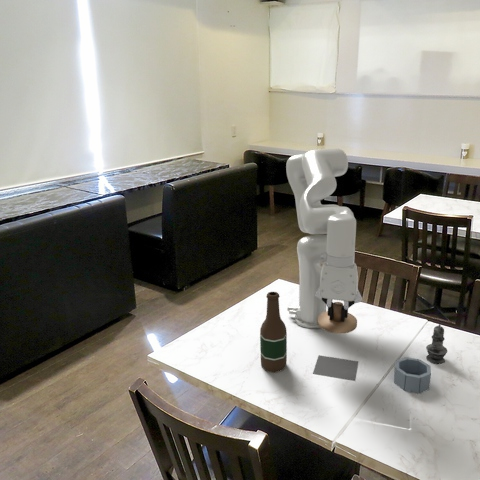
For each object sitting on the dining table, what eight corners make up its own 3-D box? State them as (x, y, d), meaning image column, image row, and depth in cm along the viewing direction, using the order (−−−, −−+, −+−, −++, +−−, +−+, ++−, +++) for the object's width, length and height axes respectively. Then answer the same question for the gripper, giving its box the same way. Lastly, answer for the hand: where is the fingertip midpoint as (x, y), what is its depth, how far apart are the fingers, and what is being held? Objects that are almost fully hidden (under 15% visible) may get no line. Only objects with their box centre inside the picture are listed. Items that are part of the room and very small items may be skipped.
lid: (314, 330, 128) (315, 310, 126) (321, 311, 138) (321, 293, 136) (354, 336, 124) (356, 315, 122) (358, 316, 134) (359, 297, 132)
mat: (312, 374, 133) (312, 373, 133) (318, 356, 142) (318, 355, 142) (354, 381, 129) (355, 380, 129) (358, 362, 138) (358, 361, 138)
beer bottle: (272, 355, 143) (271, 285, 135) (292, 365, 137) (292, 292, 130) (255, 366, 138) (253, 293, 130) (274, 376, 132) (274, 302, 125)
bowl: (393, 389, 125) (395, 373, 123) (394, 370, 133) (395, 355, 132) (429, 395, 122) (431, 379, 121) (428, 375, 130) (430, 360, 129)
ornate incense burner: (440, 353, 141) (445, 318, 137) (449, 364, 135) (454, 328, 131) (421, 354, 141) (425, 319, 137) (430, 365, 135) (434, 329, 131)
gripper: (307, 261, 124) (306, 321, 130) (370, 267, 119) (365, 329, 125) (312, 251, 130) (311, 309, 136) (371, 257, 125) (367, 316, 131)
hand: (337, 318), depth 130 cm, fingers closed on lid, 2 cm apart
